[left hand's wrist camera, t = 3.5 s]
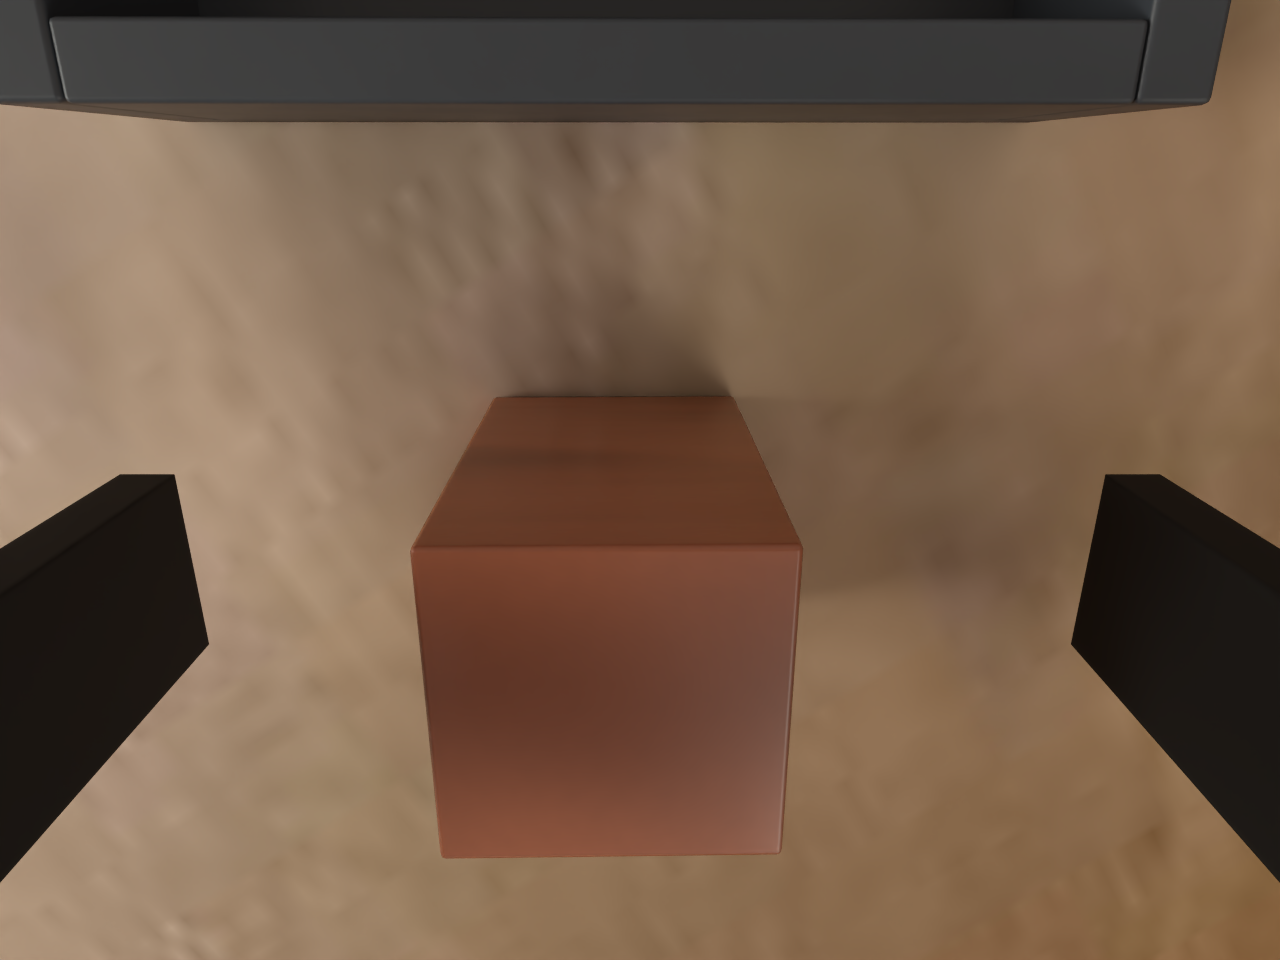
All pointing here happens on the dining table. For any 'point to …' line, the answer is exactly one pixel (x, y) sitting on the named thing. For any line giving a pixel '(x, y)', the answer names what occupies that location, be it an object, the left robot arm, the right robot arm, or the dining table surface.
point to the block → (609, 633)
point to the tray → (609, 59)
